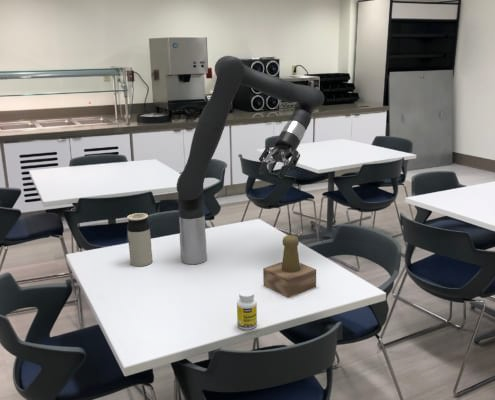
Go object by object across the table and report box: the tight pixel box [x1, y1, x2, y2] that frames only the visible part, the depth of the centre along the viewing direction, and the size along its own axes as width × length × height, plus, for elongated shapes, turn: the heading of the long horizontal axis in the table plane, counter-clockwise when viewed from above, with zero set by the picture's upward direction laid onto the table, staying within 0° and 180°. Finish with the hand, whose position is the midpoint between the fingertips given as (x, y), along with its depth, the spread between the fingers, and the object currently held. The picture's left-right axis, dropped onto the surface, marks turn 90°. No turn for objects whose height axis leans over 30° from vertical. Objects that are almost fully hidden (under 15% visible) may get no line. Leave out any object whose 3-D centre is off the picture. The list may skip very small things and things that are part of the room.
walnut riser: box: [262, 261, 317, 299], centre depth 165 cm, size 12×12×6 cm
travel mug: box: [126, 212, 153, 267], centre depth 186 cm, size 8×8×18 cm
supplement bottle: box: [236, 289, 258, 331], centre depth 140 cm, size 5×5×10 cm
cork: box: [281, 234, 301, 273], centre depth 162 cm, size 6×6×11 cm
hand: (269, 175), depth 172 cm, fingers open, 8 cm apart
